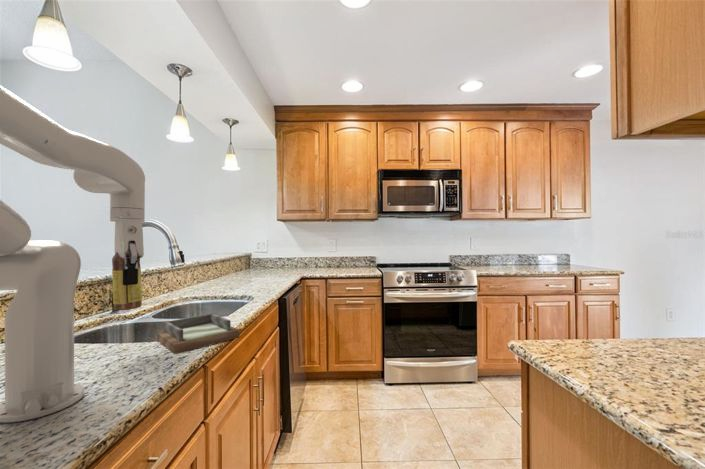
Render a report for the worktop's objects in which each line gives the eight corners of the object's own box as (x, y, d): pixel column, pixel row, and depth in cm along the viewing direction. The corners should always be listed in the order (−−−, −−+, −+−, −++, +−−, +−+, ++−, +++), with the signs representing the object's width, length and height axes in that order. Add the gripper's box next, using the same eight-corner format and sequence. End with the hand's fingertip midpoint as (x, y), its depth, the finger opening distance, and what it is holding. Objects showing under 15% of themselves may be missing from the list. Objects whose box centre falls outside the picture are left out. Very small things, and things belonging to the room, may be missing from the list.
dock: (239, 337, 101) (239, 320, 102) (174, 353, 88) (173, 333, 88) (218, 328, 113) (218, 312, 113) (157, 341, 99) (157, 323, 99)
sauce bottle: (142, 305, 88) (143, 233, 89) (141, 309, 83) (141, 233, 84) (113, 307, 85) (113, 233, 86) (110, 312, 80) (110, 232, 80)
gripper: (153, 214, 81) (152, 284, 81) (136, 218, 93) (136, 280, 93) (117, 212, 76) (116, 288, 76) (104, 217, 88) (103, 282, 88)
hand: (127, 283), depth 84 cm, fingers closed on sauce bottle, 6 cm apart
